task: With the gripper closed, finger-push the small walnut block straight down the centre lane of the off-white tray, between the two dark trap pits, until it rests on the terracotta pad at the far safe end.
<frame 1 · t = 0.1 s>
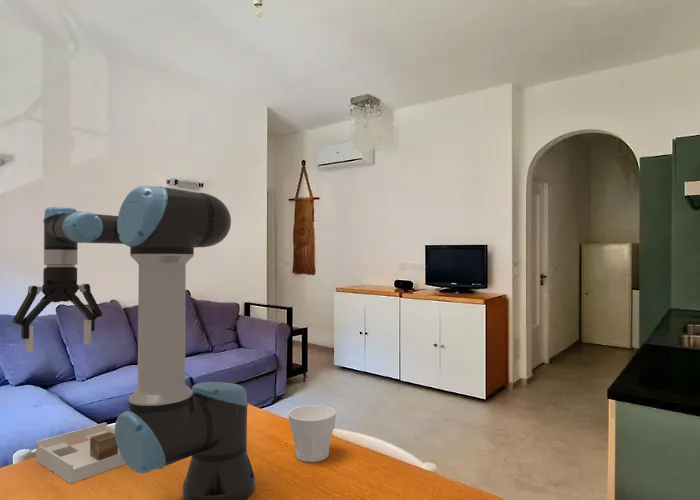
hand: (59, 347, 119), 28 cm above the table, fingers open, 13 cm apart
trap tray: (89, 459, 116), on the table
block: (103, 455, 112), point 3 cm above the table, touching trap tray
candy bar box: (156, 430, 137), on the table
cup: (312, 456, 118), on the table
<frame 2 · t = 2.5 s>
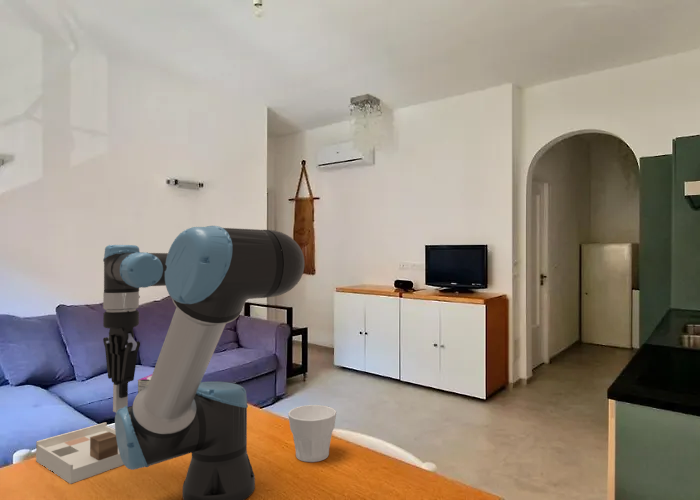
hand: (120, 410, 107), 15 cm above the table, fingers closed
nothing on the table moved.
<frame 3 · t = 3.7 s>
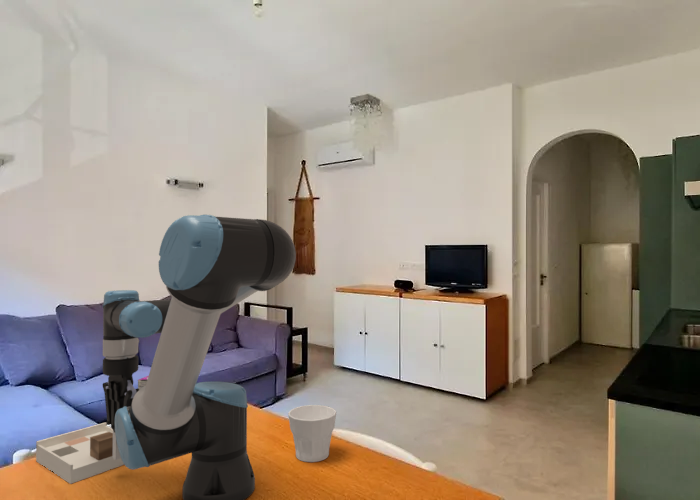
hand: (119, 457, 107), 4 cm above the table, fingers closed
nothing on the table moved.
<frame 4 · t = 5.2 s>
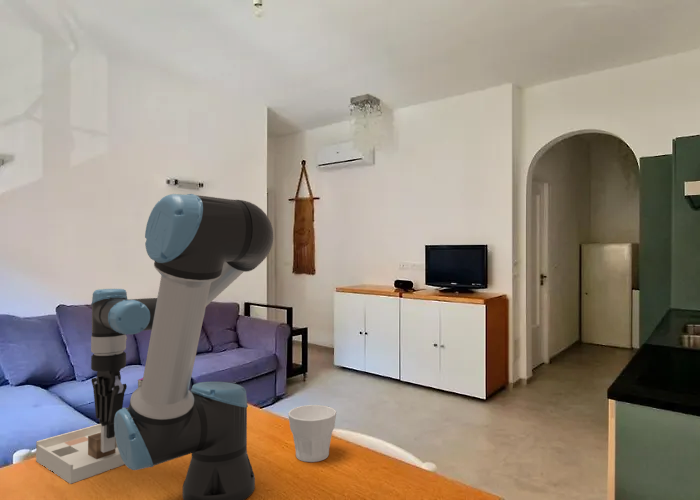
hand: (107, 450, 111), 5 cm above the table, fingers closed
block: (101, 453, 112), point 3 cm above the table, touching gripper
everything else where it was.
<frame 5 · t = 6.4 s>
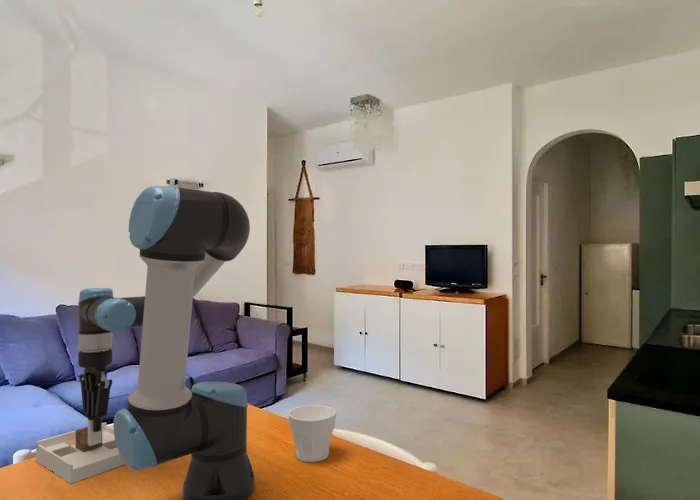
hand: (94, 443, 115), 5 cm above the table, fingers closed
block: (88, 447, 117), point 3 cm above the table, touching gripper, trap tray
everything else where it was.
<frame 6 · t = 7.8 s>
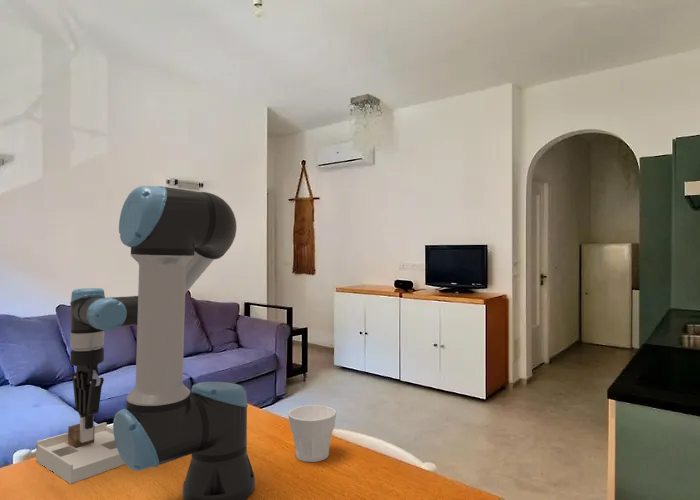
hand: (86, 440, 117), 4 cm above the table, fingers closed
block: (81, 443, 119), point 3 cm above the table, touching gripper, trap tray
everything else where it was.
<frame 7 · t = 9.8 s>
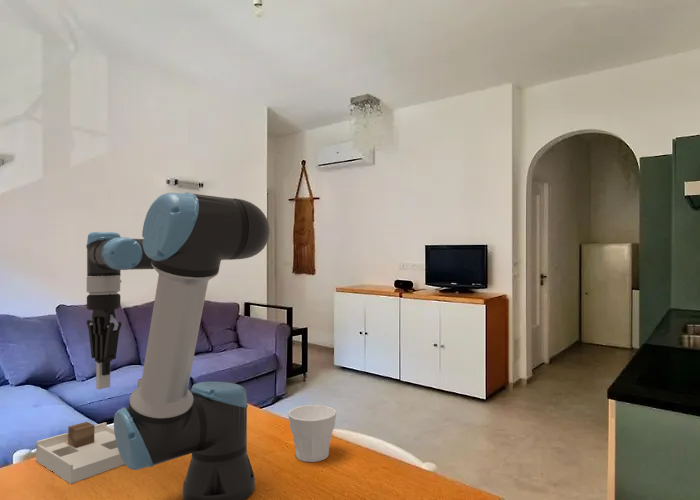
hand: (103, 387, 114), 19 cm above the table, fingers closed
block: (81, 443, 119), point 3 cm above the table, touching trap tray
everything else where it was.
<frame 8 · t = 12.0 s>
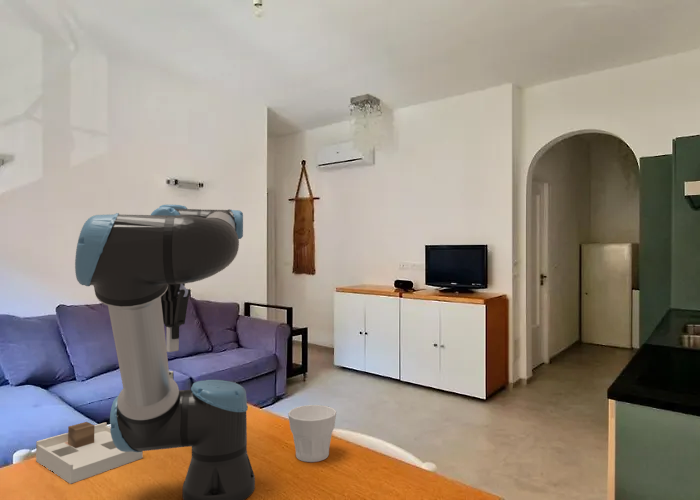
hand: (172, 350, 122), 26 cm above the table, fingers closed
nothing on the table moved.
at the end: block 1.8 cm from the target spot on the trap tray, point 3.0 cm above the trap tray's base; block tilted 0° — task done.
